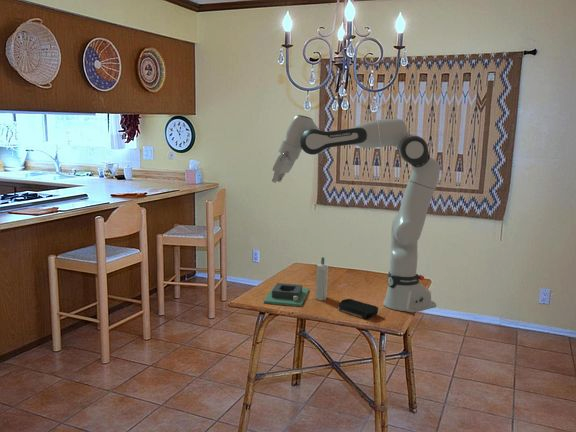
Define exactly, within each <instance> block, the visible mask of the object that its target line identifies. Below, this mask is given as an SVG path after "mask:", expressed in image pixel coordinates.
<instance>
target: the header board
mask: <svg viewBox="0 0 576 432" xmlns="http://www.w3.org/2000/svg"><path fill="white" fill-rule="evenodd" d="M309 291H310V288H306V287H303V285H302V284H294V283H293V284H291V283H282V282H281V283H280V282H278V283H276V284H275V285H274V286H273V287H272V289H271V290H270V292H269V293H268V294H267V296H266V297H265V299H263V304H267V305H268V304H269V305H278V306H279V305H280V306H288V307H290V306H291V307H302V306H303V303H304V302H305V299H307V298H306V297H307V296H308V293H309Z"/></svg>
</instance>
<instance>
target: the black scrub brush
mask: <svg viewBox="0 0 576 432" xmlns="http://www.w3.org/2000/svg"><path fill="white" fill-rule="evenodd" d="M337 304H338V309H337V310H338V311H339V312H342V313H345V314H349V315H352V316H353V317H354V316H355V317H358V318H361V319H363V320H370V319H371V318H373V317H375V316H376V315H377V314H378V312H379V307H378V306H376V305H373V304H370V303H367V302H362V301H359V300H355V299H352V298H345V299H342V300H341V301H339V303H337Z"/></svg>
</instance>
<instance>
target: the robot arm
mask: <svg viewBox="0 0 576 432" xmlns="http://www.w3.org/2000/svg"><path fill="white" fill-rule="evenodd" d="M342 146H355V147H356V146H357V147H360V148H367V149H368V148H369V149H370V148H372V149H373V148H381V147H382V148H383V147H395V148H396V150H397V152H398V154H399V157H400V158H401V159H402V160H403V161H404V162H406V163H408V164H409V165H411V167H412V169H411V174H410V177H409V180H408V182H407V184H406V187H405V190H404V193H403V196H402V198H401V203H400V207H399V210H398V213H397V215H396V216H395V217H394V218H393V220H392V222H391V235H390V259H389V271H388V275H387V290H386V293H385V298H384V301H383V306H385V307H386V308H388V309H391V310H395V311H402V312H408V313H413V314H414V313H417V312H423V311H425V310H431V309H434V308H437V303H436V302H435V301H434V300H432V294H431V291H430V290H429V289H428V288H427V287H425V285H423V284H422V283H421V282H420V281H424V280H425V276H424V275H422V274H418V273H417V269H418V267H417V266H418V241H419V239H420V237H421V235H422V232H423V229H424V224H425V221H426V218H427V214H428V210H429V208H430V204H431V202H432V198H433V196H434V193H435V190H436V189H437V184H438V181H439V177H440V173H441V165H440V163H439V162H438V161H437V160H436V159H435V158H432V157H430V153H429V146H428V143H427V142H426V140H425V139H423V138H422V137H421V136H419V135H414V134H410V133H409V131H408V127H407V125H406V123H405V121H404V120H403V119H400V118H382V119H376V120H375V119H374V120H370V121H366V122H363V123H360V124H358V125H356V126H353V127H349V128H347V129H346V128H345V129H339V130H330V131H324V130H321V129H320V128H319V127H318V126H317V124H315V122H314V119H312V118H311V117H309V116H305V115H301V114H298V115H297V114H296V115H295V116H294V117H293V118H292V120H291V121H290V124H289V126H288V128H287V130H286V133H285V137H284V138H283V139H282V141H281V143H280V146H279V148H278V150H277V151H278V152H279V155H278V157H277V159H276V160H275V162H274V165H273V167H272V171H273V172H274V173H273V177H272V180H271V182H272V183H275V184H276V183H277V182H278V183H281V182H282V180H283V178H284V177H285V175H286V174H288V173H289V172H291V170H292V168H293V166H294V164H295V162H296V161H297V160H298V159H299V158H300V154H301V152H302V150H303V152H304V153H306V154H308V155H319V154H322V153H324V152H325V151H326V150H327V149H329V148H336V147H342Z"/></svg>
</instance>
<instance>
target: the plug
mask: <svg viewBox="0 0 576 432" xmlns="http://www.w3.org/2000/svg"><path fill="white" fill-rule="evenodd" d="M320 259H321V260H320V263H317V265H316V277H315V300H318V301H326V299H327V296H328V294H327V293H328V277H329V275H328V273H329V263H325V257H324V256H322V257H321V258H320Z"/></svg>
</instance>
